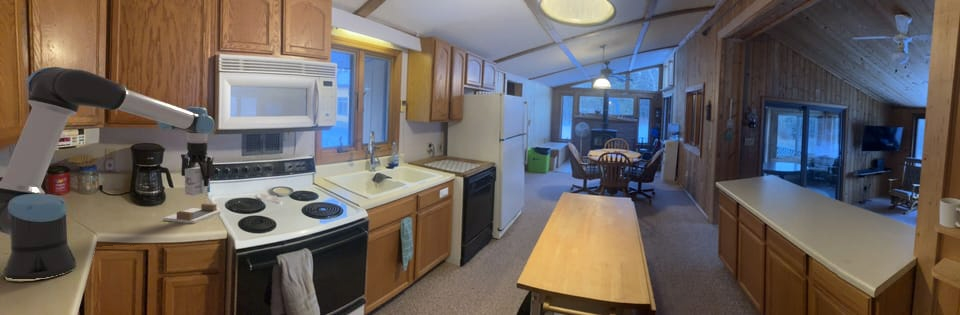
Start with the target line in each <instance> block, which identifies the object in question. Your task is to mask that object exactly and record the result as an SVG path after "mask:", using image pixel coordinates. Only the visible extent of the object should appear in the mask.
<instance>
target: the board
mask: <svg viewBox="0 0 960 315" xmlns="http://www.w3.org/2000/svg"><path fill="white" fill-rule="evenodd" d="M219 213H220V214H221V210H217V204H216V203H206V202H204V203H201V205H200V208H197V207H196V208H195V207H191V208H189V209H185V210H182V211H176V213H173V214H170V215H167V216H164V217H163V218H162V220H163V221H166V222H167V221H168V222H175V223H185V224H186V223H187V224H196V223H199V222H202V221H205V220H207V219H210V218H212V217H215V216H217V215H220V214H219ZM209 217H210V218H209ZM206 218H207V219H206ZM204 219H205V220H204Z"/></svg>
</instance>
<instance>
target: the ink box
mask: <svg viewBox="0 0 960 315" xmlns="http://www.w3.org/2000/svg"><path fill="white" fill-rule="evenodd" d="M202 179H203V176H202V173H201V169H200V166H195V167H194V168H188V169H185V176H184V194H185V195H188V196H198V195H202V194H201V180H202ZM210 179H211V178H209V185H208V186H207V193H206V194H208V193H211V186H210V184H211V181H210Z"/></svg>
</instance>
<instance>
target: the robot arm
mask: <svg viewBox="0 0 960 315" xmlns="http://www.w3.org/2000/svg"><path fill="white" fill-rule="evenodd" d="M26 88H27V90H28V92H29V95H28V99H27V103H28V104H29V105H30V106H31V110H30V112H29V114H28V117H27V119H26V122H25V124H24V127H23V129H22V131H21V134H20V135H19V138H18V140H17V143H16V145H15V148H14V150H13V151H12V152H13V153H12V154H11V158H10V159H9V162H8V164H7V167H6V168H5V172H4V174H3V175H2V179H1V180H0V233H3V234H7V235H9V236H10V246H11V247H10V249H11V251H10V255H9V257H8V259H7V260H8V261H7V263H6V266H5V268H4V270H3V277H4V276H5V277H7V278H12V279H36V278H46V277H51V276H56V275H59V274H62V273H66V272H68V271H70V270H72V269H74V268H75V267H76V268H77V261H76V258H75V257H74V255H73V254H74V253H73V252H72V250H71V249H70V247H69V244H68V229H67V228H68V227H67V223H68V222H67V211H68V210H67V206H66V202H65V200H64V198H62V197H61V196H59V195H56V194H51V193H47V194H46V192H45V191H44V189H43V188H42V184H43V182H44V179H45V177H46V175H47V172H48V170H49V167H50V164H51V162H52V160H53V157H54V154H55V151H56V149H57V147H58V144H59V142H60V140H61V136H62V134H63V132H64V130H65V127H66V125H67V122H68V119H69V117H72V116H74V115H77V113H78V111H79V109H80V107H81V106H82V107H91V108H98V109H103V110H107V111H112V112H113V111H117V110H119V111H120V112H121V111H122V112H125V113H128V114H131V115H134V116H137V117H138V116H139V117H142V118H144V119H145V118H146V119H148V120H152V121H156V124H157V126H158V127H159V129H161V130H163V131H165V130H166V131H173V130H174V131H180V132H181V131H183V132H186V141H187V142H186V150H187V153H182V154H180V158H181V173H180V175H181V176H182V177H185V169H188V168H194V167H196V164H198V167H200V169H201V173H202V176H203V179H202V180H201V194H200V195H204V194H208V193H207V186H208V185H209V178H210V179H213V178H214V163H213V162H214V158H215V157H214V156H212V155H211V156H210V155H208V153H207V152H208V134H210V133H212V132H213V131H214V129H215V126H216V125H215V120H214V119H213V117H211V116H210V115H208V109H207V108H205V107H200V106H188V107H186V109H185V108H182V107H179V106H175V105H173V104H171V103H168V102H164V101H162V100H158V99H156V98H153V97H149V96H148V95H146V94H145V95H144V94H141V93H138V92H137V91H136V92H135V91H133V90H129V89H128V88H127V87H126V86H125V85H124V84H122V83H119V82H117V81H114V80H111V79H108V78H106V77H104V76H101V75H99V74H96V73H93V72H92V71H91V72H90V71H87V70H83V69H77V68H75V69H73V68H65V67H64V68H63V67H58V66H52V67H43V68H39V69H37V70H35V71H33V72H32V73H31V74H30V75H29V76H28V78H27V80H26ZM76 268H75V269H76ZM75 269H74V270H75Z"/></svg>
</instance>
